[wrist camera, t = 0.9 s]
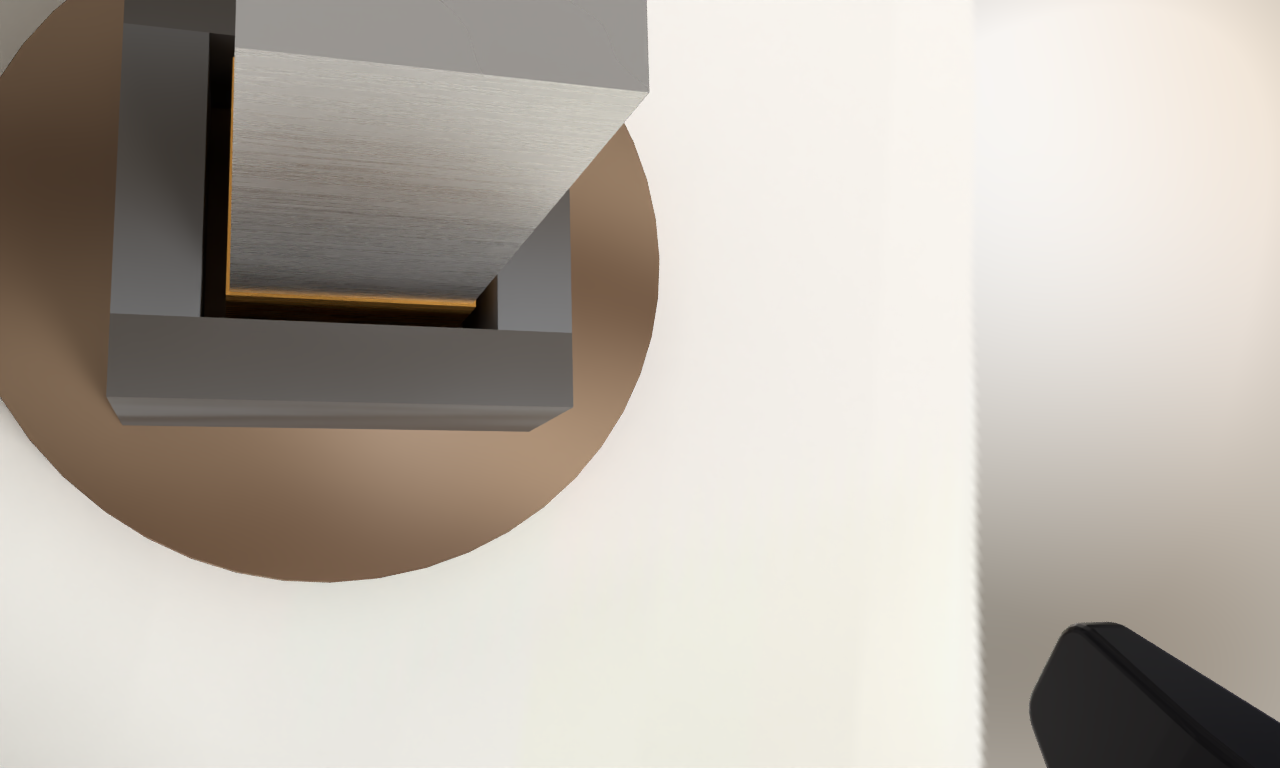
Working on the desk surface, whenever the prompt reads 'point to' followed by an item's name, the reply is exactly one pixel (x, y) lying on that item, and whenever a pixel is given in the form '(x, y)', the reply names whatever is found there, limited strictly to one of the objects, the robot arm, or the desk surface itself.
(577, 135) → the post
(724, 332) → the desk surface
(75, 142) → the stand base
